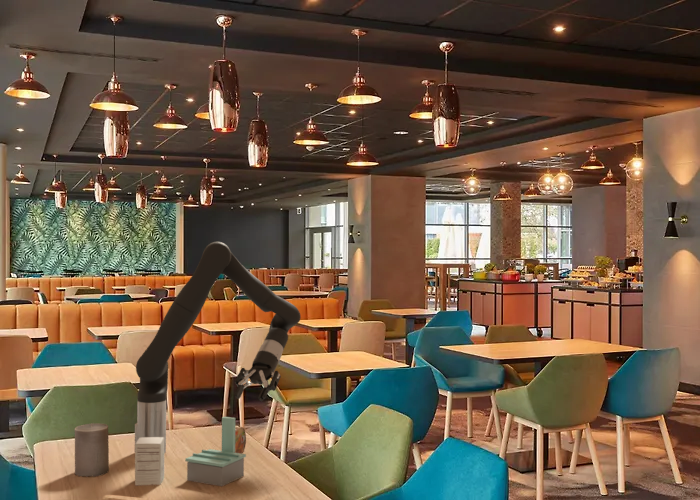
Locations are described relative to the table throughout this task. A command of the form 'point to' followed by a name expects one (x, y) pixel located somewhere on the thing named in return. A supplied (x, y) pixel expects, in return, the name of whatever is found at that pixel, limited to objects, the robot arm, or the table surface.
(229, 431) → the lid
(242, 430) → the tin
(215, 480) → the tub
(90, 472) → the pillar candle
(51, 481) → the table surface
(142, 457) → the supplement box
